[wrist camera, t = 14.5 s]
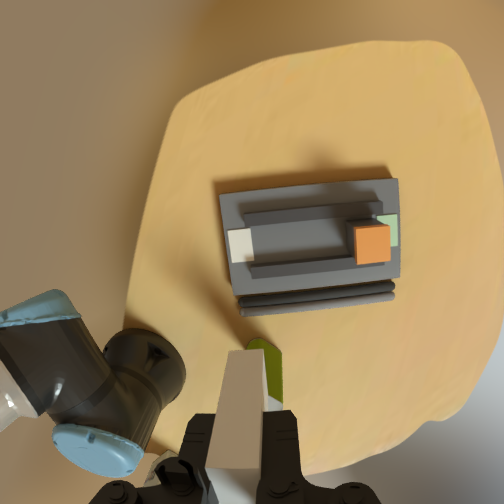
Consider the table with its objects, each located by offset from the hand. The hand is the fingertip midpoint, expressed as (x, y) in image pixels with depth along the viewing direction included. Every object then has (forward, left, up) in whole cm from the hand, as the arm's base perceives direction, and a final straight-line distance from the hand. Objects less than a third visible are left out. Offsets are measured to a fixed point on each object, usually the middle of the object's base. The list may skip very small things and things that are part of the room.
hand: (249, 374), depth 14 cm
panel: (+7, -1, -32) cm, 33 cm away
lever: (+13, -1, -30) cm, 32 cm away
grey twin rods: (+7, -11, -32) cm, 34 cm away
